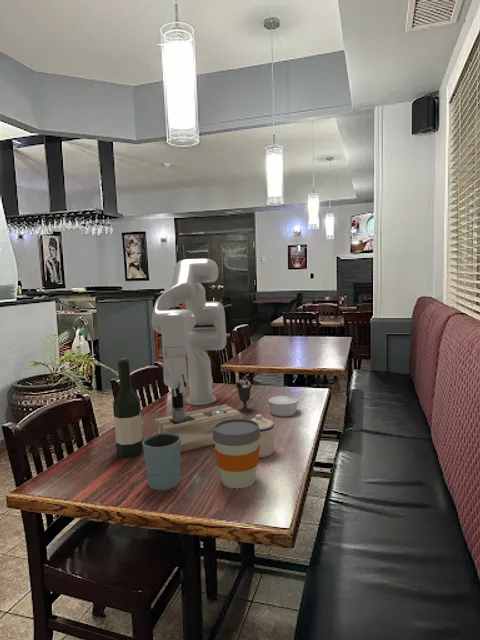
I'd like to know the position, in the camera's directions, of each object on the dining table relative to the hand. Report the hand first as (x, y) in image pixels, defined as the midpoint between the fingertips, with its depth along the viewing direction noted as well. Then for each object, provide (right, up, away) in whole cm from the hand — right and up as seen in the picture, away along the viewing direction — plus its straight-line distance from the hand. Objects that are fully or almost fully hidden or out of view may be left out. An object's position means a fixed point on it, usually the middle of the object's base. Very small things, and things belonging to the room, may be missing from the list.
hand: (178, 407), depth 144 cm
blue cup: (0, -16, -24) cm, 28 cm away
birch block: (+7, -12, +5) cm, 14 cm away
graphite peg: (0, -8, +1) cm, 8 cm away
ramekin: (+37, -8, +28) cm, 47 cm away
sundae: (+22, -8, +33) cm, 40 cm away
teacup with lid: (+25, -13, -7) cm, 28 cm away
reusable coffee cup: (+20, -15, -24) cm, 35 cm away
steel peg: (+13, -11, +8) cm, 19 cm away
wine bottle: (-15, -14, -3) cm, 20 cm away
